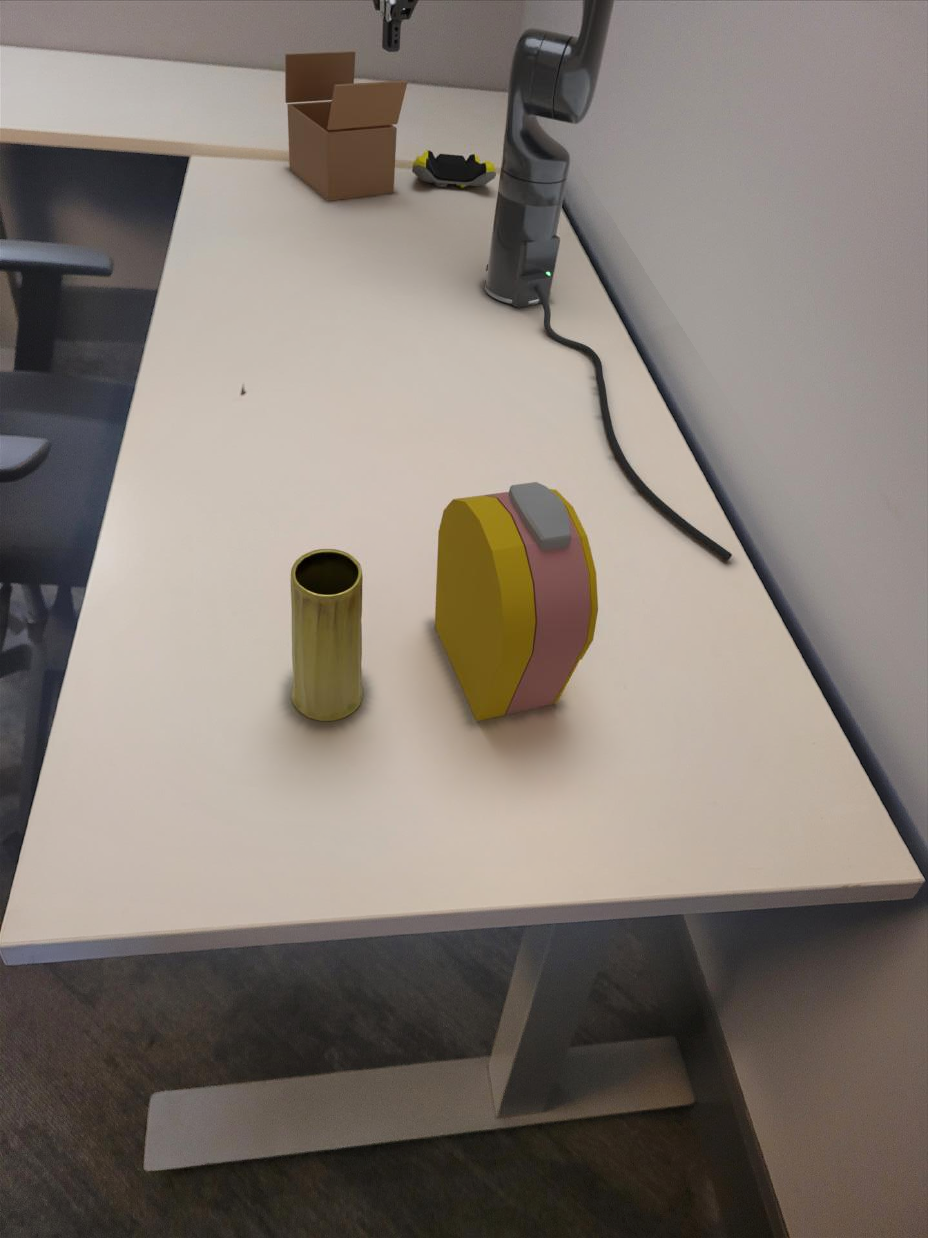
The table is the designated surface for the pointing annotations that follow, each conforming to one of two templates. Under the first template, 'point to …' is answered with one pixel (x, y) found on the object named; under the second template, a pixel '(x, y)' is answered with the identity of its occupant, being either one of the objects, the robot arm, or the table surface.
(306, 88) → the cardboard box
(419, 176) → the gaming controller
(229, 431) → the table surface
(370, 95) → the box flap
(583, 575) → the tape measure
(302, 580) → the vase
